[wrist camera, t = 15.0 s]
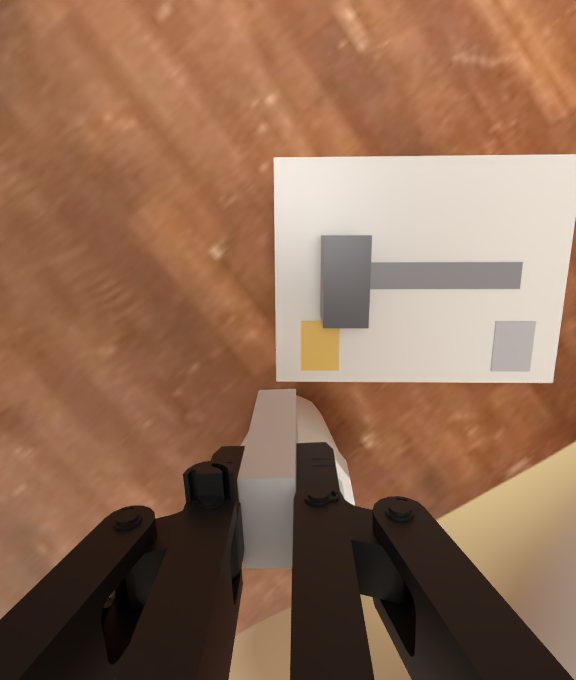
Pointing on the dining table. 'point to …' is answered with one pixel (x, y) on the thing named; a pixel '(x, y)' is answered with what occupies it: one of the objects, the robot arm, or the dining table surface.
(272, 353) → the dining table surface
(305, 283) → the switch panel
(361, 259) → the knob
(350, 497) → the foam cup
